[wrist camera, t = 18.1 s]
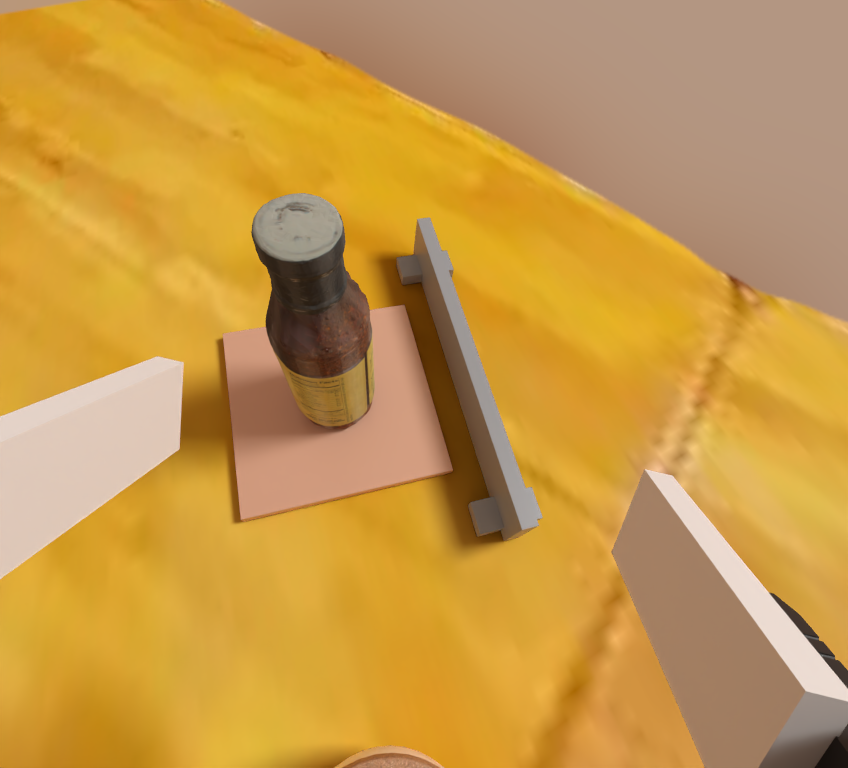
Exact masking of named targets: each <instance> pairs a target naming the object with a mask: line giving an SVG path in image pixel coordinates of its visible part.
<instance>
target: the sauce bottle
mask: <svg viewBox="0 0 848 768" xmlns="http://www.w3.org/2000/svg"><path fill="white" fill-rule="evenodd" d="M252 237H253V241H254V244H255V247H256V251H257V253H258V256H259V258H260V260H261V262H262V263H263V264H264V265H265V266H266V267H267V269H268V273H269V275H270V278H271V284H272V292H271V296H270V301H269V306H268V310H267V315H266V331H267V335H268V338H269V341H270V344H271V346H272V348H273V351H274V353H275V355H276V357H277V359H278V361H279V364H280V366H281V368H282V370H283V373H284V375H285V378H286V380H287V382H288V385H289V387H290V389H291V392H292V394H293V396H294V399H295V401H296V403H297V405H298V407H299V409H300V410H301V412H302V413H303V414H304V415H305V416H306V417H307V418H308V419H309V420H310V421H311V422H312V423H314V424H315V425H317V426H320V427H324V428H328V429H346V428H348V427H350V426H352V425H354V424H356V423H357V422H358V421H359V420H361V419H362V418H363V417H364V416H365V415H366V414H367V413H368V411H369V410H370V408H371V405H372V400H373V396H374V390H375V381H374V359H373V336H372V326H371V322H370V310H369V305H368V302H367V298H366V296H365V294H363V293H362V292H361V290H360V288H359V286H358V284H357V283H356V282H355V281H354V280H352V279H351V277H350V275H349V273H348V272H347V271H346V270H345V267H344V261H343V252H344V247H345V233H344V227H343V222H342V219H341V216H340V214H339V213H338V211H337V210H336V208H335V207H334V206H333V205H332V204H331V203H329V202H327V201H326V200H324V199H323V198H321V197H318V196H314V195H311V194H305V193H300V194H290V195H285V196H282V197H280V198H276V199H273V200H271V201H270V202H268V203H267V204H265V205H263V206H262V207H261V208H260V209H259V211H258V212H257V214H256V215H255V217H254V220H253V225H252Z"/></svg>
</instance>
